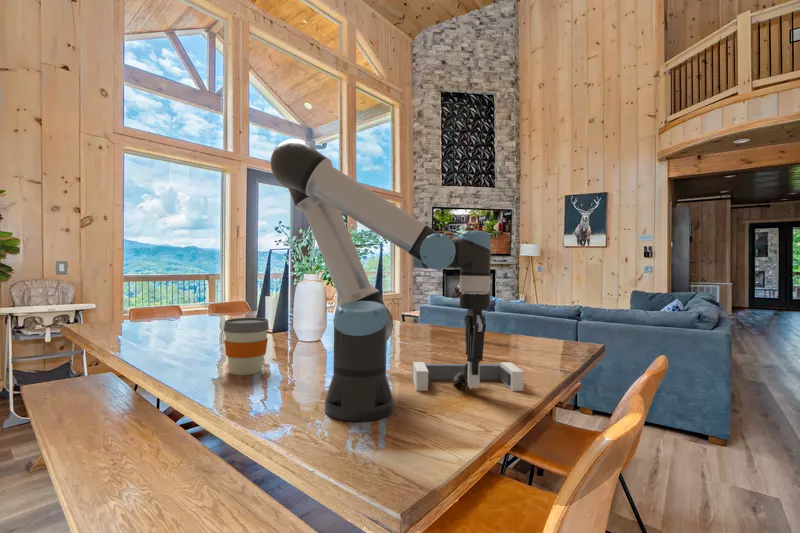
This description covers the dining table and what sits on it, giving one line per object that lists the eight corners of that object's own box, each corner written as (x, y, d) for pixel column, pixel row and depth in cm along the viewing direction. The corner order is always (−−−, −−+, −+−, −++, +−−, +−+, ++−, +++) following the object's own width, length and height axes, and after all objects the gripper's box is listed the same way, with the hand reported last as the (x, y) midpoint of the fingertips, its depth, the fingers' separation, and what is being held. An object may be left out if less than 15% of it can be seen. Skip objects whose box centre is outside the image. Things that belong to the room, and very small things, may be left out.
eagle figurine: (488, 388, 102) (479, 372, 111) (474, 366, 101) (466, 352, 110) (462, 403, 102) (455, 386, 111) (448, 381, 101) (442, 366, 110)
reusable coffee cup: (237, 364, 126) (238, 317, 126) (275, 366, 124) (276, 318, 124) (213, 375, 114) (214, 322, 114) (255, 377, 112) (256, 324, 112)
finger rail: (416, 390, 103) (416, 371, 103) (412, 377, 115) (412, 360, 115) (523, 390, 104) (523, 371, 104) (508, 377, 116) (508, 360, 116)
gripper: (497, 294, 94) (495, 394, 94) (483, 291, 107) (481, 379, 107) (465, 294, 94) (464, 394, 94) (455, 291, 107) (454, 379, 107)
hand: (473, 386), depth 101 cm, fingers closed
